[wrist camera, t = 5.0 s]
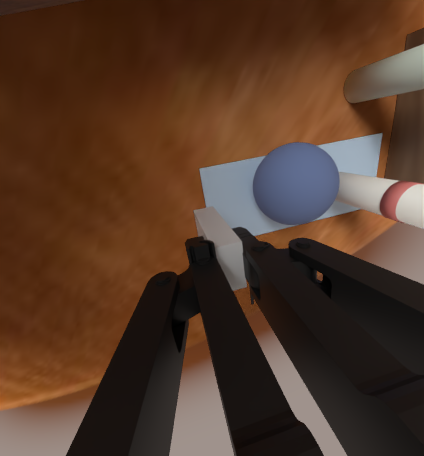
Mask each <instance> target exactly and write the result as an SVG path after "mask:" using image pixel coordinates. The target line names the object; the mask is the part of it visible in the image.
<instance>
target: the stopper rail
mask: <svg viewBox="0 0 424 456" xmlns="http://www.w3.org/2000/svg"><path fill="white" fill-rule="evenodd" d="M422 44H424V28H422V29H420V30H417V31H415V32H413V33H411V34H408V35H407V40H406V46H405V51H406V50H409V49H412V48H414V47H417V46H420V45H422ZM384 179H390V180H397V181H409V182H416V183H422V184H424V89H421V90H416V91H411V92H406V93H402V94H398V96H397V103H396V109H395V115H394V122H393V128H392V134H391V141H390V147H389V153H388V159H387V166H386V172H385V178H384Z"/></svg>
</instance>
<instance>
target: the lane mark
mask: <svg viewBox="0 0 424 456" xmlns="http://www.w3.org/2000/svg"><path fill="white" fill-rule="evenodd" d="M381 140H382V133H379V134H373V135H368V136H363V137H358V138H353V139H348V140H343V141H338V142H333V143H327V144H322V145H317V146H318V147H320V148H321V149H323V150H324V151H326V152H327V153H328V154H329V155H330V156H331V157H332V159H333V160H334V162H335V164H336V166H337V168H338V171H339V172H345V173H351V174H358V175H364V176H371V177H376V175H377V168H378V161H379V154H380V147H381ZM266 156H267V155H266ZM266 156H261V157H256V158H251V159H245V160H240V161H235V162H230V163H225V164H220V165H215V166H210V167H205V168H199V171H200V176H201V182H202V188H203V193H204V199H205V204H206V208H207V207H211V206H213V207H214V208H215V210H216V211H217V212H218V213H219V214H220V216H221V217H222V218H223V219H224V220H225V222H226V223H227V224H228V225H229V226H230V228H231V229H232V228H236V227H243V228H246V229H247V230H248V231H249V232H250V233H251V234H252V235H253V236H256V235H260V234H264V233H268V232H272V231H276V230H280V229H284V228H288V227H292V226H296V225H286V224H281V223H278V222H276V221H273V220H272V219H270V218H269V217H267V216H266V215H265V214H264V213H263V212H262V211H261V210H260V208H259V207H258V205H257V203H256V201H255V198H254V194H253V179H254V175H255V172H256V170H257V168H258V166H259V164H260V163H261V161H262V160H263V159H264V158H265V157H266ZM356 210H360V208H357V207H354V206H351V205H348V204H345V203H342V202H338V201H334V202H333V204H332V205H331V207H330V208H329V209H328V210H327V211H326V212H325V213H324V214H323V215H322V216H320V217H319V218H317V219H315V220H313V221H316V220H320V219H324V218H328V217H332V216H336V215H340V214H344V213H348V212H352V211H356ZM311 222H312V221H311Z"/></svg>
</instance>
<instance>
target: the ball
mask: <svg viewBox="0 0 424 456" xmlns="http://www.w3.org/2000/svg"><path fill="white" fill-rule="evenodd" d="M339 184H340V178H339V171H338V168H337V166H336V164H335V162H334V160H333V159H332V157H331V156H330V155H329V154H328V153H327V152H326V151H324V150H323V149H321V148H320V147H318V146H316V145H313V144H309V143H299V142H296V143H289V144H286V145H282V146H280V147H278V148H276V149H275V150H273V151H271V152H270V153H269V154H268V155H267V156H266V157H265V158H264V159H263V160H262V161H261V163H260V164H259V166H258V168H257V170H256V172H255V175H254V179H253V194H254V198H255V201H256V203H257V205H258V207H259V208H260V210H261V211H262V212H263V213H264V214H265V215H266V216H267V217H269V218H270V219H272V220H273V221H276V222H278V223H281V224H286V225H301V224H305V223H309V222H311V221H313V220H315V219H317V218H319V217H320V216H322V215H323V214H324V213H325V212H326V211H327V210H328V209H329V208H330V207H331V205H332V204H333V202H334V201H335V199H336V196H337V194H338V191H339Z"/></svg>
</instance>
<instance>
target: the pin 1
mask: <svg viewBox="0 0 424 456" xmlns="http://www.w3.org/2000/svg"><path fill="white" fill-rule="evenodd" d="M421 89H424V44H422V45H420V46H417V47H414V48H412V49H409V50H406V51H404V52H401V53H398V54H396V55H393V56H390V57H388V58H385V59H382V60H380V61H377V62H374V63H372V64H369V65H366V66H364V67H361V68H358V69H356V70H354V71H352V72H351V73H350V74H349V75H348V77H347V79H346V81H345V84H344V95H345V98H346V100H347V101H348V102H350V103H358V102H363V101H368V100H372V99H377V98H382V97H387V96H392V95H397V94H402V93H406V92H411V91H416V90H421Z"/></svg>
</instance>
